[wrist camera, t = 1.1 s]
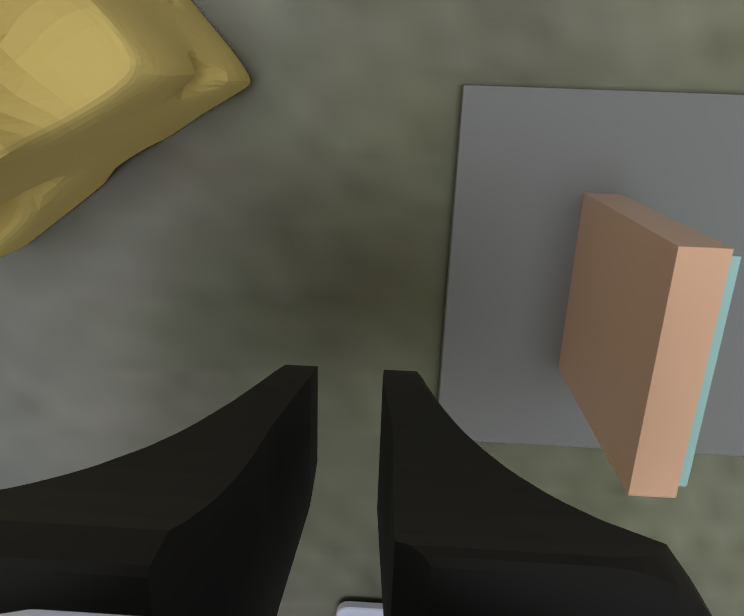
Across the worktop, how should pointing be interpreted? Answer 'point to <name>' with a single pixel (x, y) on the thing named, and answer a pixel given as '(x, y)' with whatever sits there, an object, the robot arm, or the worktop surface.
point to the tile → (644, 337)
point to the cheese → (95, 96)
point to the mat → (574, 243)
